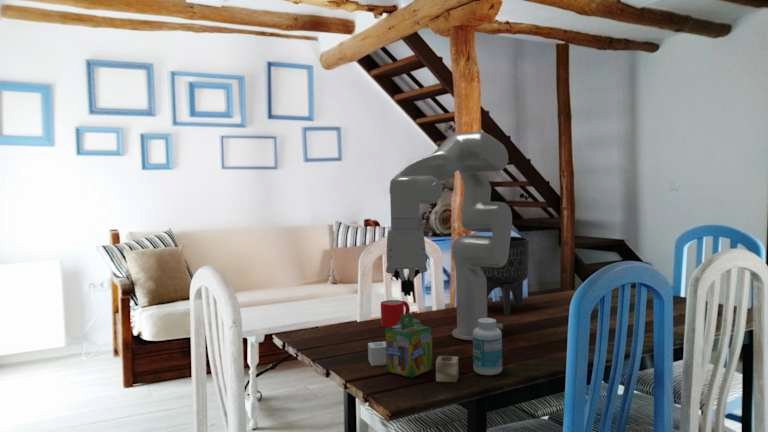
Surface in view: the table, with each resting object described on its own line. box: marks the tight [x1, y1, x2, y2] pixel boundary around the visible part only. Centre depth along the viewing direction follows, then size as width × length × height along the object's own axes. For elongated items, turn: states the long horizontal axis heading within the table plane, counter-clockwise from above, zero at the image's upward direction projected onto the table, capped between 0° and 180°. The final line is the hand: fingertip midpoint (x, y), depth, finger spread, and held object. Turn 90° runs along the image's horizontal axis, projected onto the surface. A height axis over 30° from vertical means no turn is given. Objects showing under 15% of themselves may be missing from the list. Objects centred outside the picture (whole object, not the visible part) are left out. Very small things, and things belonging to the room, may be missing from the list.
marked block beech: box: [435, 355, 460, 383], centre depth 150 cm, size 5×5×5 cm
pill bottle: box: [472, 317, 503, 376], centre depth 154 cm, size 8×7×14 cm
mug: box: [380, 299, 411, 329], centre depth 206 cm, size 8×12×8 cm, turn 135°
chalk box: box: [384, 312, 434, 379], centre depth 157 cm, size 9×9×15 cm
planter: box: [480, 236, 530, 316], centre depth 220 cm, size 20×20×26 cm
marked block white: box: [367, 341, 387, 367], centre depth 165 cm, size 5×5×5 cm
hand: (407, 294), depth 155 cm, fingers closed
